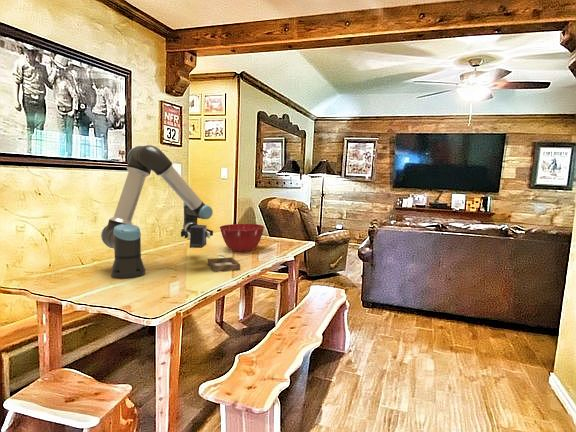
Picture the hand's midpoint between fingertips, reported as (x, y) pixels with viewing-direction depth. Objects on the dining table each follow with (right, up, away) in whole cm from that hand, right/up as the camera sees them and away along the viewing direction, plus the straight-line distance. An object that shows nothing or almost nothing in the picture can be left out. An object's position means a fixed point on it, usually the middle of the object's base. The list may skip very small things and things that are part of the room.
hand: (199, 235), depth 189 cm
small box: (-2, -6, +5) cm, 8 cm away
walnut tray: (+10, -17, +11) cm, 23 cm away
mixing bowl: (+14, -12, +56) cm, 60 cm away
